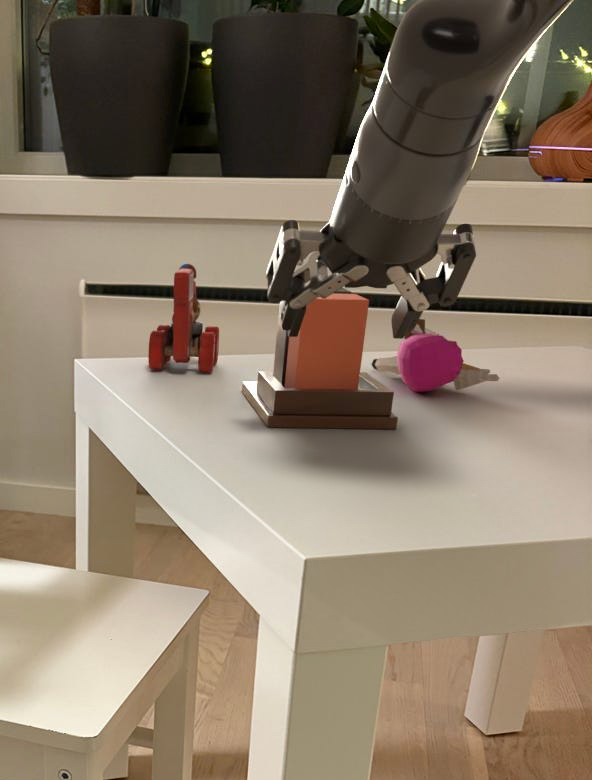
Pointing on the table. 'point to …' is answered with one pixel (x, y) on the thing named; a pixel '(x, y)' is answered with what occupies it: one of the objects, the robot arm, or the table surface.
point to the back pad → (328, 344)
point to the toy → (431, 362)
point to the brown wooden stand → (318, 398)
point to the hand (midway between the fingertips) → (343, 328)
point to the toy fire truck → (184, 329)
